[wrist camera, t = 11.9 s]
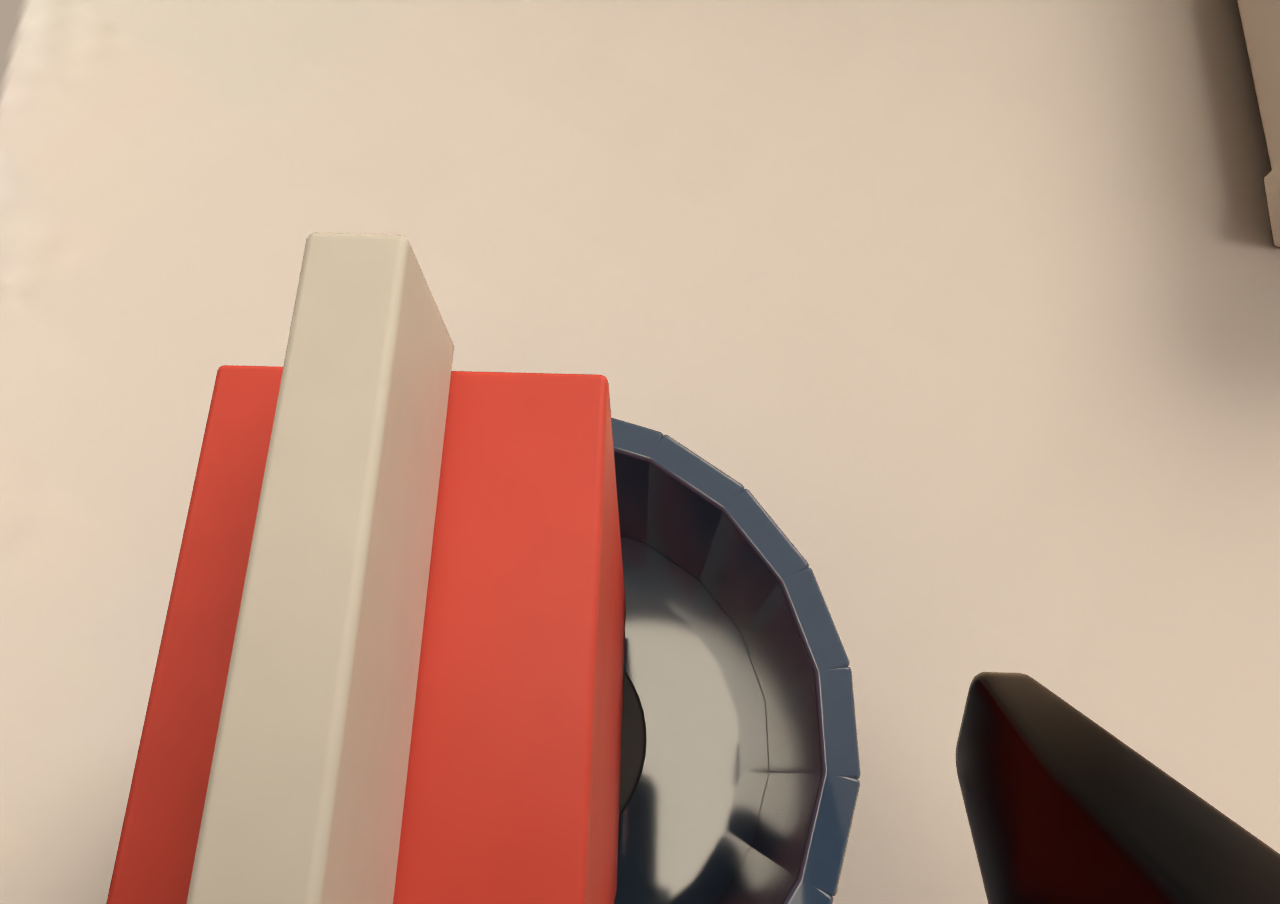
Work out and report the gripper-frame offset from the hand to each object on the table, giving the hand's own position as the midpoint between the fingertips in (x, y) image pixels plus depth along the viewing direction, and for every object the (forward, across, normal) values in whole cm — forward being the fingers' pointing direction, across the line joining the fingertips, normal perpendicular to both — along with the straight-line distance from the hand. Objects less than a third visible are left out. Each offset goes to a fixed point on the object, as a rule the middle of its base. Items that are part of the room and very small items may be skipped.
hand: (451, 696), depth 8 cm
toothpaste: (+6, 0, +6) cm, 9 cm away
